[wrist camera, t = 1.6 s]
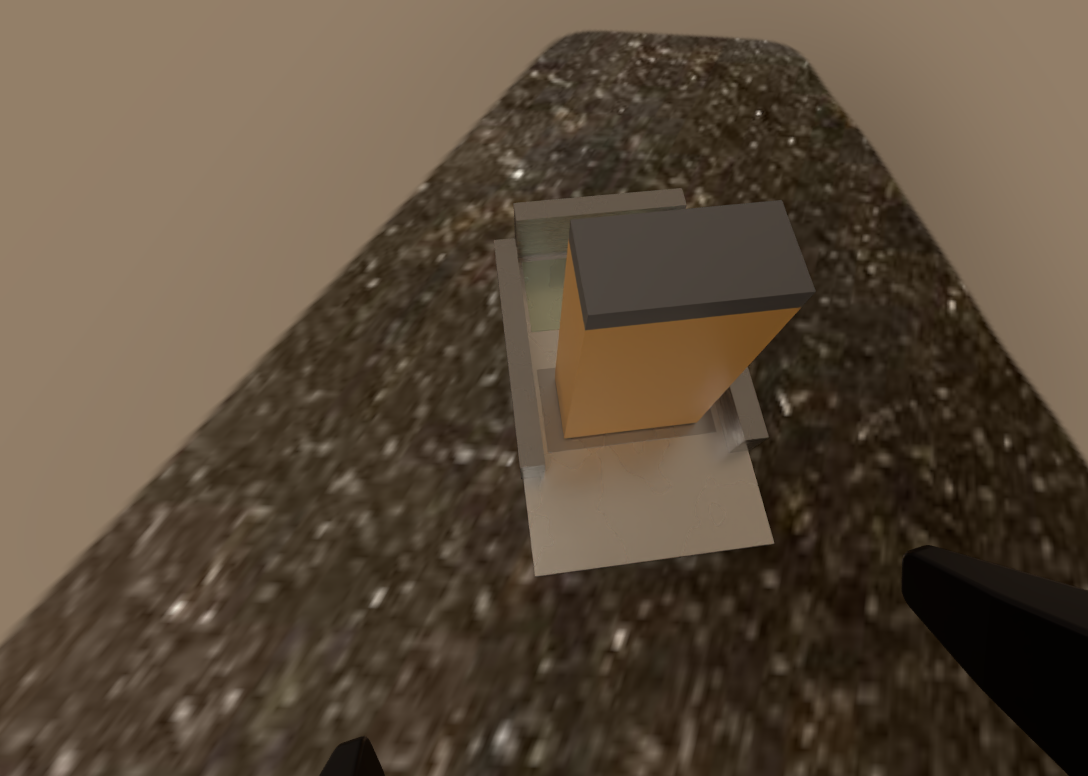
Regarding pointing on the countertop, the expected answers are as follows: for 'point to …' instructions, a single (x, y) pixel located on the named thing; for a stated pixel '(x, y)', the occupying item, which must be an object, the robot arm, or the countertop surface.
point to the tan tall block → (670, 311)
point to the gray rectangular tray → (621, 457)
